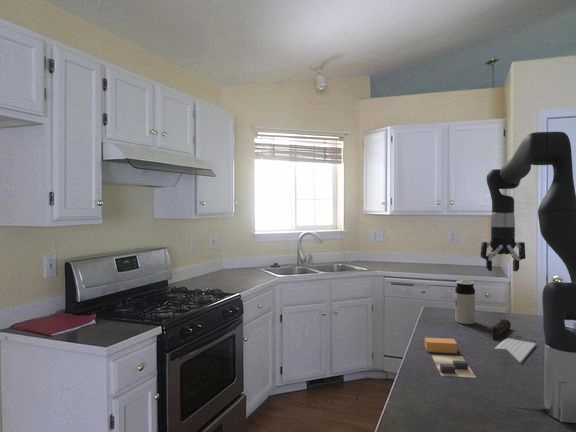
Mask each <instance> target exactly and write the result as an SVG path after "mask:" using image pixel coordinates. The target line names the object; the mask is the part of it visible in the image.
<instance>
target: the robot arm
mask: <svg viewBox="0 0 576 432" xmlns="http://www.w3.org/2000/svg"><path fill="white" fill-rule="evenodd" d="M572 155H573V154H572V146H571V140H570V138H569V136H568V134H567V133H566V132H564V131H538V132H537V131H535V132H531V133H529V134H527V135H526V136H525V137H524V138H523V140H522V141H521V142H520V144H519V145H518V147H517V149H516V150H515V152H514V154H513V155H512V157H511V158H510V159H509V160H508V161H507V162H506V163H505V164H504V165H502V166H501V168H499V169H497V168H495V169H493V168H492V169H491V170H489V171H488V173H487V175H486V183H487V184H486V185H487V187H488V191H489V195H490V197H491V218H490V242H489V241H486V242H485V241H481V242H480V243H481V245H480V258H482V259H484V260H485V264H486V265H485V268H486V269H487V271H489V272H492V271H493V260H492V259H494V257H496V256H497V254H498V255H503V254H504V255H510V257H512V259H513V260H512V271H513V272H518V270H520V261H522V260H525V259H526V244H525V242H523V241H518V242H517V241H515V238H516V218H515V217H516V216H515V199H514V197H513V196H511V195H505V194H502V192H501V190H512V189H513V190H514V189H516V188H518V187H519V185H520V183H521V181H522V179H523V178H525V177H526V176H527V175H529V173H530V172H531V168H532V166H551V167H552V169H553V177H552V182H551V183H550V186H549V189H548V190H547V192H546V194H545V195H544V197H543V198H542V199H541V202H540V203H539V206H538V209H537V217H538V224H539V231H540V234H541V236H542V239H544V241H545V242H546V244H547V245H548V246H549V247H550V248H551V250H553V252H554V253H555V254H556V255H557V257H558V258H560V260H561V261H562V262H563V264H564V265H565V268H566V270H567V272H568V275H569V278H570V281H571V282H561V281H560V282H558V281H557V282H555V281H552V282H548V283H546V284H545V286H544V287H543V290H542V314H543V315H542V318H543V334H544V363H543V364H544V372H543V373H544V379H543V383H544V385H543V389H544V390H543V405H544V407H545V408H543V411H544V412H545V413H546V414H547V415H548V416H551V417H552V418H554V419H556V420H559V422H560V423H572V424H576V331H574V330H570V329H568V328H567V327H566V323H565V321H576V188H575V187H576V186H575V181H574V170H573V169H574V168H573V156H572ZM488 248H491V250H489V253H488V251H487V250H488ZM514 248H517V249H518V254H517V252H516V251H515V250H514ZM487 253H488V254H487Z"/></svg>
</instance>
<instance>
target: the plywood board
mask: <svg viewBox="0 0 576 432" xmlns="http://www.w3.org/2000/svg"><path fill="white" fill-rule="evenodd" d="M431 358H432V359H433V362H434V363H435V366H436V368H437V370H438V372H439V375H440V376H441V377H442V376H443V377H456V378H457V377H460V378H473V379H474V378H477V376H476V375H475V373H474V372H473V370H472V369H471V367H470V366H469V365H468V370H461V369H455V374H453V373H441V371H440V364H453V360H456V361H466V360H465V358H464V357H463V356H461V355H444V354H443V355H441V354H439V355H438V354H431Z"/></svg>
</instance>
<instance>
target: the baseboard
mask: <svg viewBox="0 0 576 432" xmlns="http://www.w3.org/2000/svg"><path fill="white" fill-rule="evenodd" d="M505 336H506V337H507V335H506V334H504V336H502V341H501V342H500V343H499V344H497V345H496V346H495V347H494V349H496V350H497V349H498V350H499V349H500V350H507V351H508V352H509V354H511V355H512V356H513V357H514V358H515V360H517V362H519V363H520V364H521V363H523V362H524V360H525V359H526V358H527V357H528V355H529V354H530V353H531V352H532V351H533V350H534V348H535V347H536V345H537V344H536V342H537V341H536V340H534V342H533V340H531V339H530V341H528V339H525V340H527V341H524V340H520V339H523V337H521V336H518V335H517V336H515V338H513V336H510V337H511V338H510V337H508V338H505ZM517 338H518V339H517ZM531 341H532V342H531Z"/></svg>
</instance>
